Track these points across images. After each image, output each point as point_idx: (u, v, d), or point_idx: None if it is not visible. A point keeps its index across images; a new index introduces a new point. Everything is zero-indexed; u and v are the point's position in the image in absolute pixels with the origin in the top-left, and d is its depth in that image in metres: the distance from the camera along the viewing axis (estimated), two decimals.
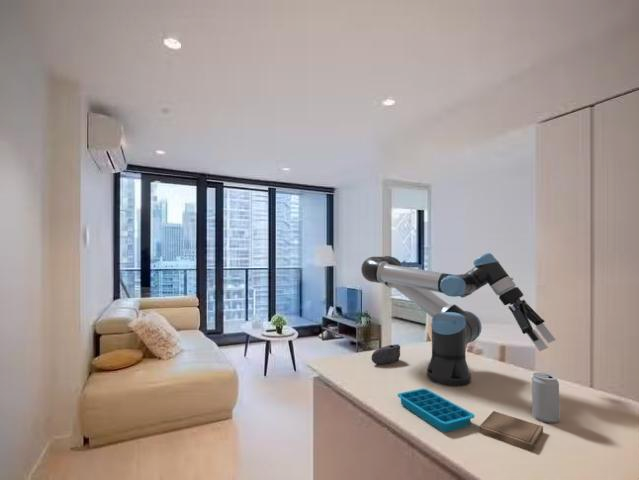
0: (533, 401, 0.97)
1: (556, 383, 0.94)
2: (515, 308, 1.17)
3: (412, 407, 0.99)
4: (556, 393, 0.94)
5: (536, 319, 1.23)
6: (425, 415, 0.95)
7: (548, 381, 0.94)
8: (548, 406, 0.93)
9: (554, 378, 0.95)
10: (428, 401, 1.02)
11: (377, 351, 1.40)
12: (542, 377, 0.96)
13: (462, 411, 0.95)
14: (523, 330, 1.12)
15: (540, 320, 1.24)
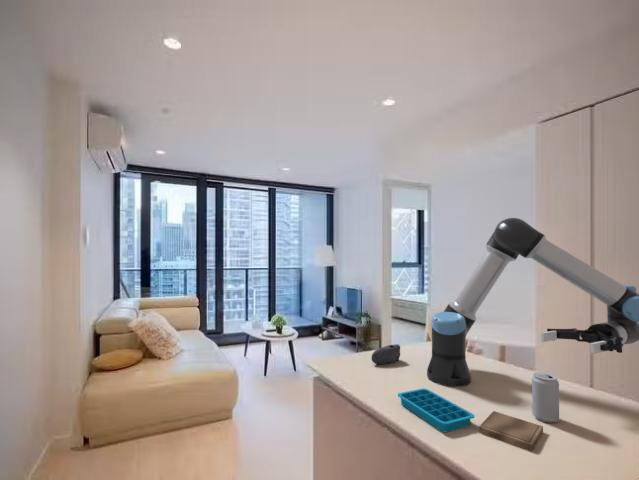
0: (533, 401, 0.97)
1: (556, 383, 0.94)
2: None
3: (412, 407, 1.00)
4: (556, 393, 0.94)
5: (562, 337, 1.10)
6: (425, 415, 0.95)
7: (548, 381, 0.94)
8: (548, 406, 0.93)
9: (554, 378, 0.95)
10: (428, 401, 1.02)
11: (377, 351, 1.40)
12: (542, 377, 0.96)
13: (462, 411, 0.95)
14: (621, 345, 0.95)
15: None
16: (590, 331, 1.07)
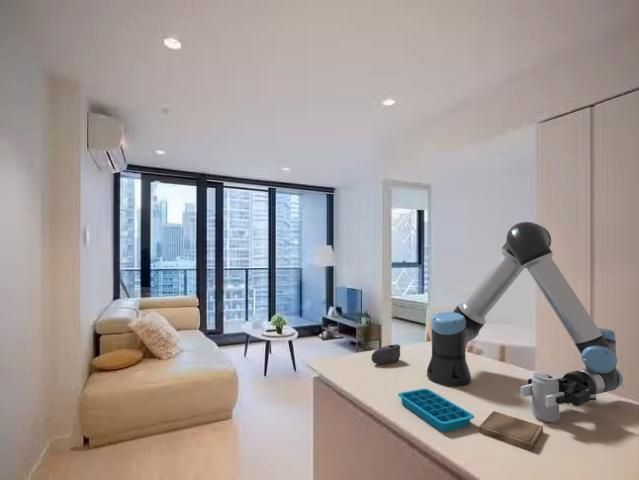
0: (533, 401, 0.97)
1: (556, 383, 0.94)
2: (591, 398, 0.95)
3: (412, 407, 1.00)
4: None
5: None
6: (424, 415, 0.95)
7: (548, 381, 0.94)
8: None
9: (554, 378, 0.95)
10: (428, 401, 1.02)
11: (377, 351, 1.40)
12: (542, 377, 0.96)
13: (462, 411, 0.95)
14: (577, 398, 0.91)
15: None
16: (566, 380, 1.02)
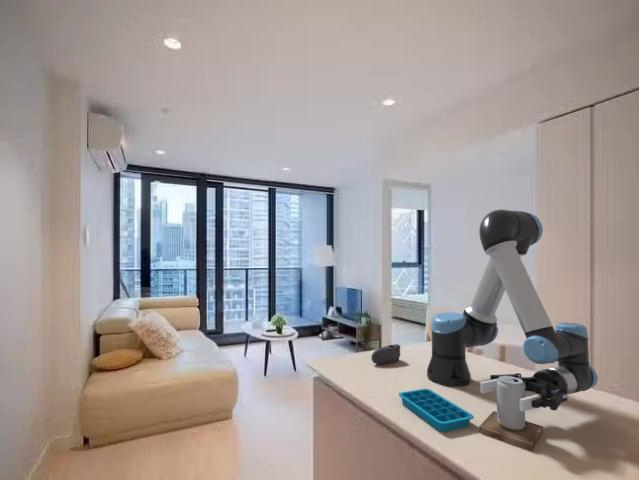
0: (497, 407, 0.90)
1: (521, 387, 0.87)
2: (563, 398, 0.87)
3: (412, 406, 1.00)
4: (521, 398, 0.86)
5: None
6: (424, 415, 0.95)
7: (513, 385, 0.87)
8: (513, 412, 0.86)
9: (520, 382, 0.88)
10: (429, 401, 1.02)
11: (377, 351, 1.40)
12: (507, 381, 0.88)
13: (462, 412, 0.95)
14: (554, 402, 0.83)
15: None
16: (535, 379, 0.94)
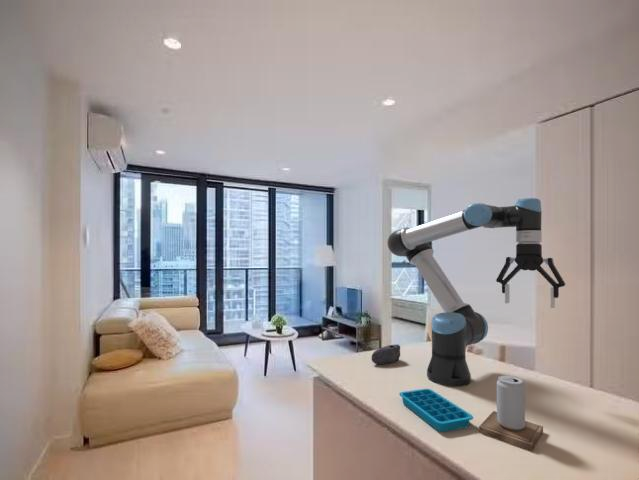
0: (497, 407, 0.89)
1: (521, 387, 0.87)
2: None
3: (412, 406, 1.00)
4: (521, 398, 0.86)
5: (548, 281, 1.13)
6: (423, 414, 0.95)
7: (513, 385, 0.87)
8: (512, 413, 0.86)
9: (519, 382, 0.88)
10: (429, 401, 1.02)
11: (377, 351, 1.40)
12: (507, 381, 0.88)
13: (462, 412, 0.94)
14: None
15: (553, 284, 1.11)
16: None
